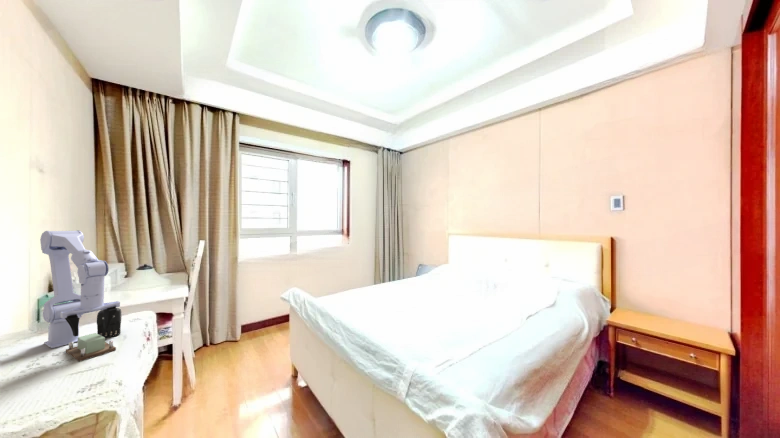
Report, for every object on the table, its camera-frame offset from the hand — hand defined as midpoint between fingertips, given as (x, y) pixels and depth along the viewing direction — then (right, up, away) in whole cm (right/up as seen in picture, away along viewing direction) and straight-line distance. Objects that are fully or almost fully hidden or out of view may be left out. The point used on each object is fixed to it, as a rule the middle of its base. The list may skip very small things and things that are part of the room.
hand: (91, 331), depth 97 cm
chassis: (0, -7, 0) cm, 7 cm away
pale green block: (0, -6, 0) cm, 6 cm away
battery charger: (-6, -8, +12) cm, 15 cm away
